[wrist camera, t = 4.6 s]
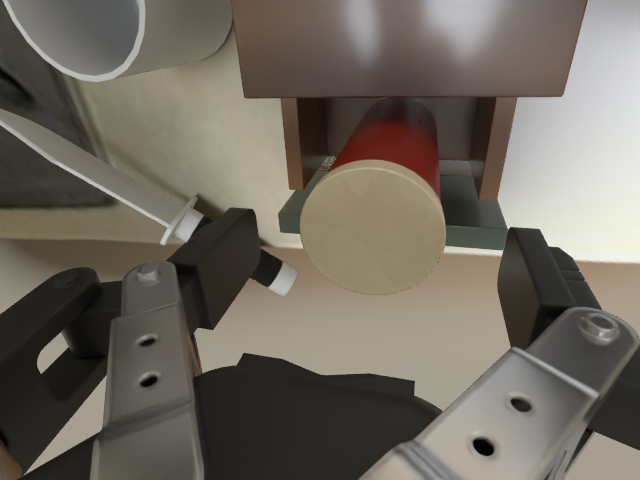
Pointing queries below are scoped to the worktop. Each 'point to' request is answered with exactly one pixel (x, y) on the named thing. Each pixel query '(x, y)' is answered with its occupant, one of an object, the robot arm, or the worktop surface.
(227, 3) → the cup
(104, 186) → the knife
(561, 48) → the cabinet
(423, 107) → the tin
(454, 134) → the drawer
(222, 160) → the worktop surface
